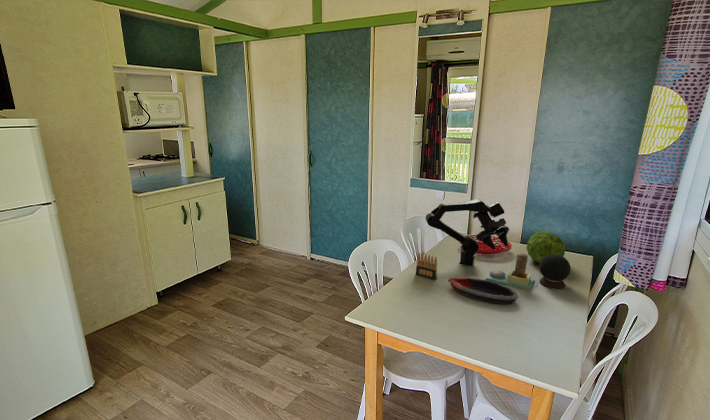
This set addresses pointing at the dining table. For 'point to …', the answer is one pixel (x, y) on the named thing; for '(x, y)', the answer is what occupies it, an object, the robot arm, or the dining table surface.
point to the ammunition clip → (426, 267)
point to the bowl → (486, 249)
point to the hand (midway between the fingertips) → (501, 247)
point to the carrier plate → (510, 279)
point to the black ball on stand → (554, 271)
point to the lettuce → (544, 245)
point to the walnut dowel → (520, 265)
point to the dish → (483, 290)
